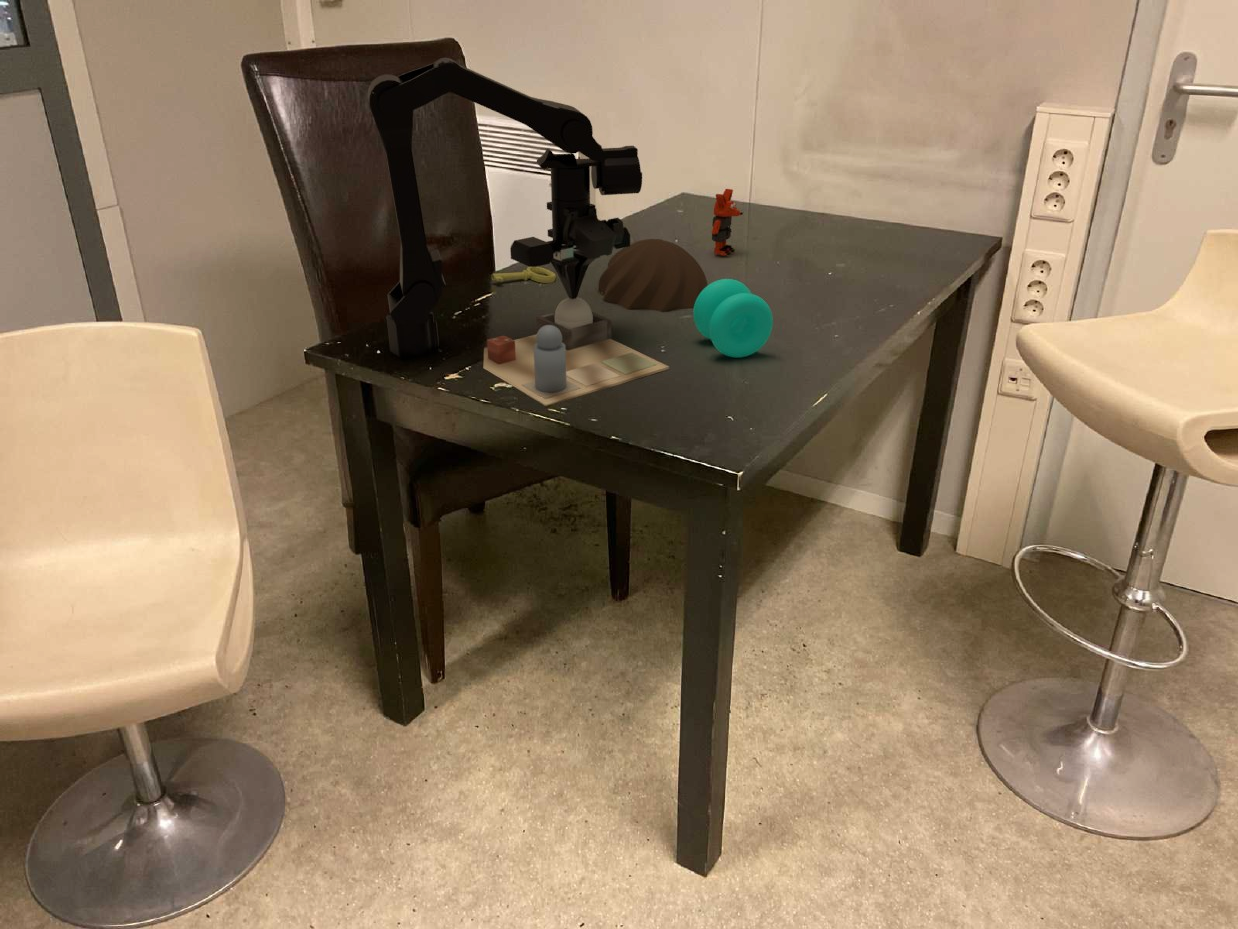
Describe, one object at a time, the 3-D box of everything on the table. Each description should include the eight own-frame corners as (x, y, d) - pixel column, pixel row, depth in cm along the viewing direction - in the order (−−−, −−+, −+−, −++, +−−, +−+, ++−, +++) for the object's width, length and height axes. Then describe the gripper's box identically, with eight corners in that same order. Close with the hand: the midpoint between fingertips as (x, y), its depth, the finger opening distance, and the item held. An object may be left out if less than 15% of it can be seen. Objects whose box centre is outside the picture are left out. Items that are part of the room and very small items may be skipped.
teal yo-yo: (712, 363, 150) (715, 299, 146) (689, 340, 159) (691, 279, 154) (773, 356, 153) (778, 293, 148) (747, 334, 161) (751, 273, 156)
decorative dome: (699, 316, 169) (702, 258, 164) (586, 307, 173) (585, 250, 168) (715, 281, 186) (718, 227, 181) (611, 273, 190) (611, 221, 185)
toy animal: (732, 259, 197) (736, 198, 191) (707, 256, 199) (709, 195, 193) (747, 249, 203) (750, 189, 197) (722, 245, 205) (725, 186, 200)
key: (488, 285, 182) (488, 274, 181) (538, 270, 190) (537, 259, 189) (515, 294, 178) (515, 282, 177) (564, 279, 186) (564, 267, 185)
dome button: (569, 343, 155) (568, 306, 152) (547, 332, 159) (546, 296, 156) (600, 334, 158) (600, 299, 155) (578, 324, 162) (577, 289, 160)
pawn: (546, 395, 139) (544, 333, 135) (529, 385, 142) (526, 324, 138) (572, 387, 141) (571, 326, 137) (554, 377, 144) (552, 318, 140)
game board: (545, 407, 136) (544, 383, 135) (460, 356, 152) (458, 335, 151) (669, 368, 148) (670, 346, 147) (579, 325, 164) (578, 304, 163)
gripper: (549, 217, 138) (552, 325, 145) (654, 198, 148) (652, 299, 155) (505, 202, 146) (511, 304, 153) (608, 184, 156) (608, 281, 163)
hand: (572, 297), depth 156 cm, fingers closed, pressing on dome button
